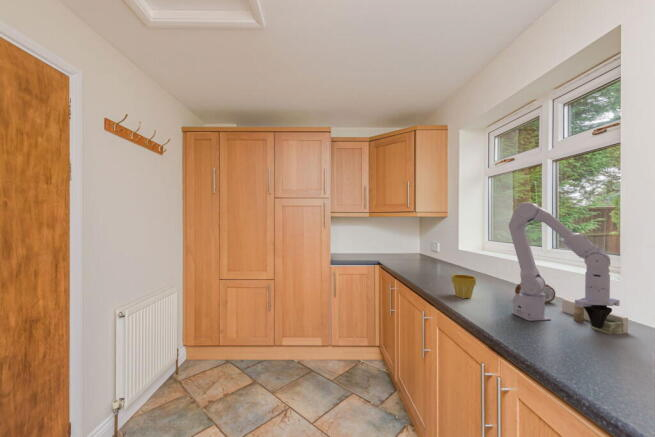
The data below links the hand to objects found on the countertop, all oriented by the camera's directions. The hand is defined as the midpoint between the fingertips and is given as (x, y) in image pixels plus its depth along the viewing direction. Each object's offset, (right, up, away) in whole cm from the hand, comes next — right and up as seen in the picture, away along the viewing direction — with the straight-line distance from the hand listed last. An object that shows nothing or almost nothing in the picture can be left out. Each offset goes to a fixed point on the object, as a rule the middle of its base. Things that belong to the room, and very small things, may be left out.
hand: (596, 327), depth 87 cm
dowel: (+3, -1, +9) cm, 9 cm away
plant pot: (-25, -1, +38) cm, 45 cm away
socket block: (+4, -1, +1) cm, 4 cm away
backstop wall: (+7, -1, +9) cm, 11 cm away
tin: (+4, -1, +31) cm, 31 cm away
